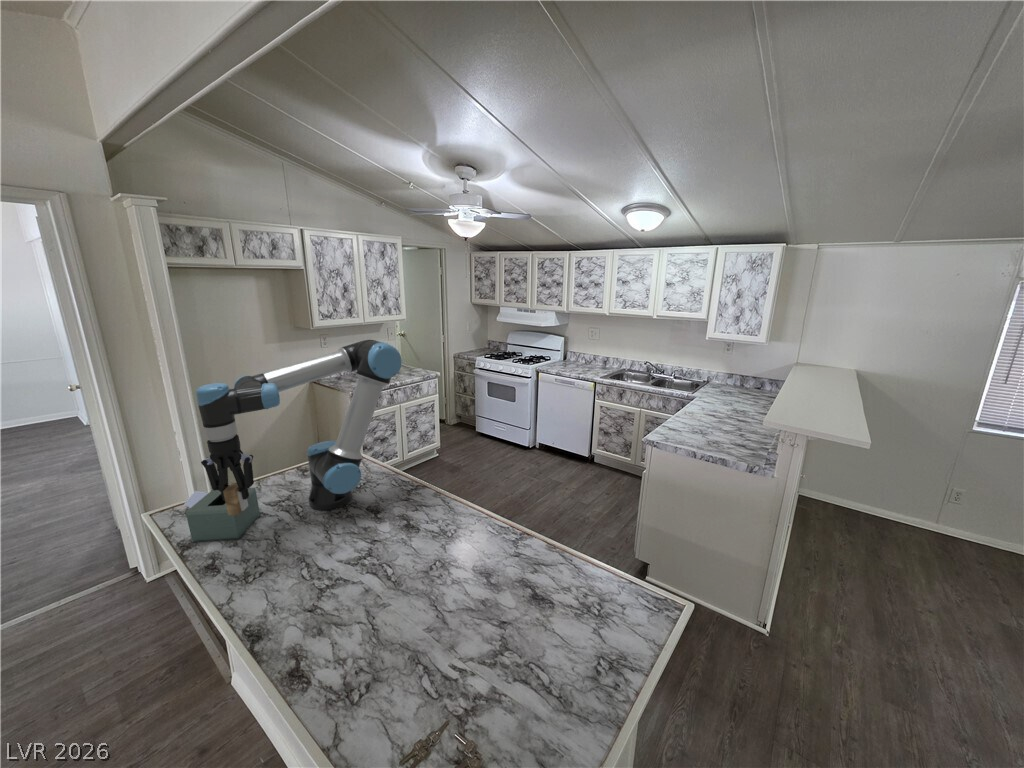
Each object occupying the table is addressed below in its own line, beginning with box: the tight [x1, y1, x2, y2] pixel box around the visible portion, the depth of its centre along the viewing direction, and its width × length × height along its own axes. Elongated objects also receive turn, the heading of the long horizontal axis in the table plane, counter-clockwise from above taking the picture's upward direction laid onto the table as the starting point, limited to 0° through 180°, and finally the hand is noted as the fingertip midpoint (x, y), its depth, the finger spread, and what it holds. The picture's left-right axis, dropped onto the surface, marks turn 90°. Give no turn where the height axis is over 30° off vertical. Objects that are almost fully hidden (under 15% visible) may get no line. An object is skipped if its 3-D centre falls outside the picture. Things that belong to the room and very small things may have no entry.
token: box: [223, 482, 242, 515], centre depth 120 cm, size 3×5×8 cm, turn 7°
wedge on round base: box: [183, 490, 209, 509], centre depth 146 cm, size 9×7×13 cm
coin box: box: [185, 487, 261, 543], centre depth 135 cm, size 14×14×11 cm
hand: (238, 508), depth 122 cm, fingers closed on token, 3 cm apart
